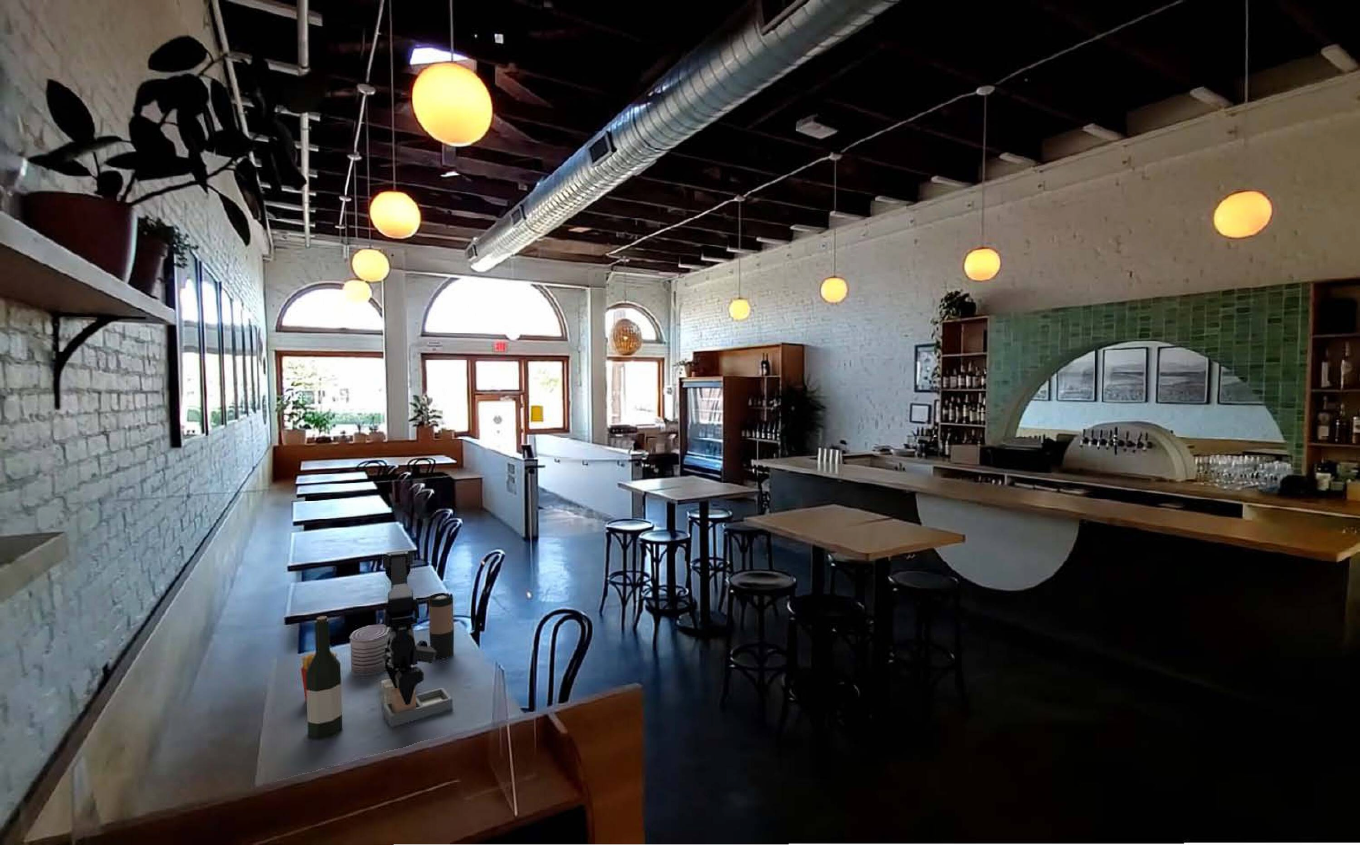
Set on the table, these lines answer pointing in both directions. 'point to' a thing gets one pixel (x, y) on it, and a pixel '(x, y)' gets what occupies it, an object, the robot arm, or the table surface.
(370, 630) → the can
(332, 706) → the wine bottle
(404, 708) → the terracotta block
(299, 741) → the table surface
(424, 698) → the pocket frame
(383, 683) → the ivory block
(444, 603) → the travel mug
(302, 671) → the french fries
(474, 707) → the table surface
